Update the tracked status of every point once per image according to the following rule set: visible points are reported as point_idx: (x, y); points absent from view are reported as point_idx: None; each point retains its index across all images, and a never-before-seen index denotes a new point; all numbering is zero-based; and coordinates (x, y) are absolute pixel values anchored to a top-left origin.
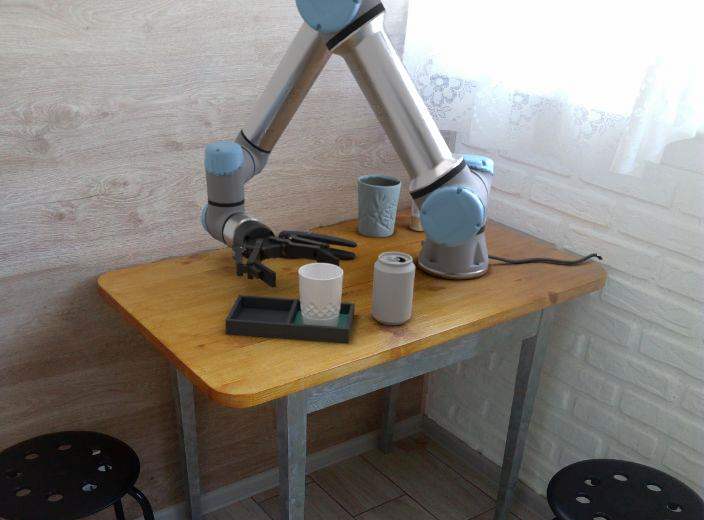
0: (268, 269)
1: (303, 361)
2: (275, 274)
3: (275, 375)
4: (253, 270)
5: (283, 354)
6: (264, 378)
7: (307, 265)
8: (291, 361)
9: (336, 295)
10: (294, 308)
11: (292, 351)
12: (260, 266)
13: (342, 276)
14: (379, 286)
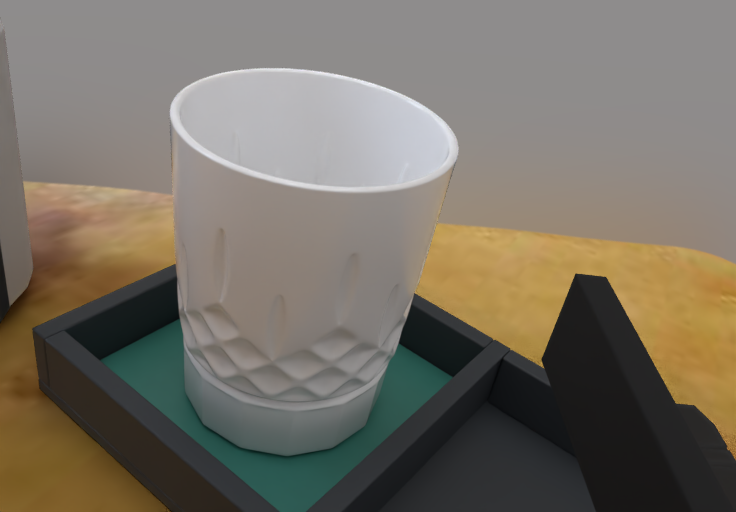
0: (619, 328)
1: (492, 271)
2: (574, 285)
3: (606, 265)
4: (731, 467)
5: (543, 326)
6: (643, 270)
7: (335, 188)
8: (531, 287)
9: (280, 166)
10: (381, 443)
11: (502, 324)
12: (676, 414)
13: (231, 87)
14: (12, 122)
